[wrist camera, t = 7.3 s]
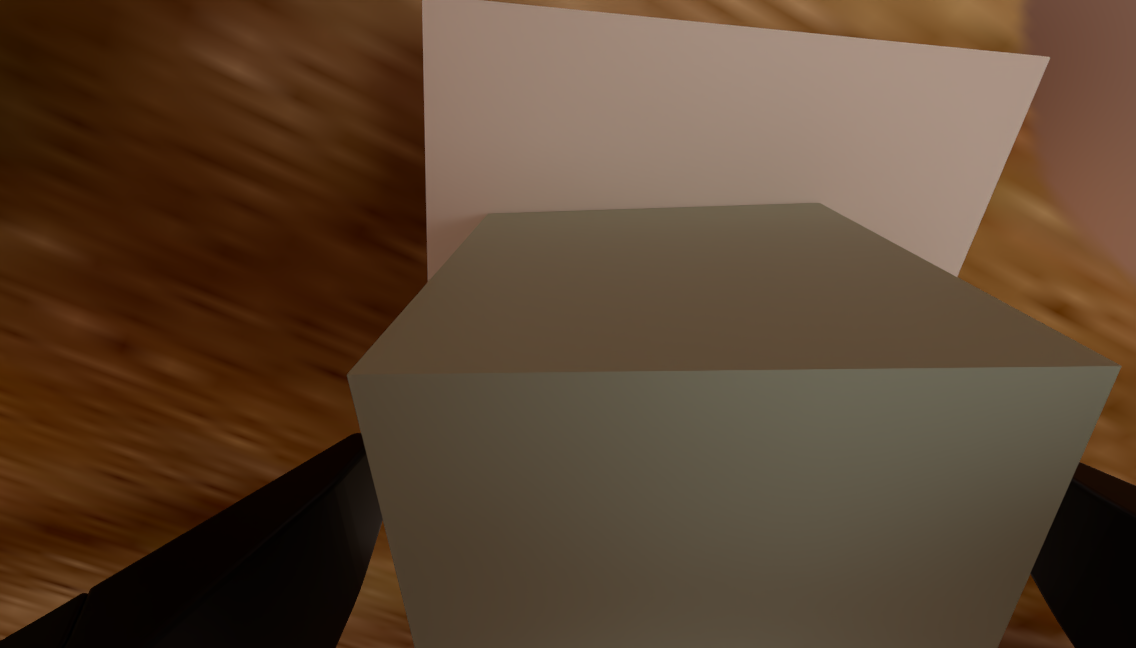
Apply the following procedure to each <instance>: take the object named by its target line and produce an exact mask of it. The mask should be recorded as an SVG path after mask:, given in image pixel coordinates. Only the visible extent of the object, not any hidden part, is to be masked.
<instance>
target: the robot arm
mask: <svg viewBox="0 0 1136 648" xmlns="http://www.w3.org/2000/svg"><path fill="white" fill-rule="evenodd" d="M382 520H383V518H382V514H381V510H380V506H379V502H378V498H377V494H376V490H375V486H374V482H373V478H372V474H371V470H370V466H369V462H368V458H367V454H366V450H365V446H364V442H363V438H362V434H361V433H355V434H352V435H350V436H348V437H347V438H345V439H343V440H342V441H340V442H338V443H337V444H335V445H333V446H332V447H330V448H328V449H326V450H325V451H323V452H321V453H320V454H318V455H316V456H315V457H313V458H311V459H309V460H308V461H306V462H304V463H303V464H301V465H299V466H298V467H296V468H294V469H292V470H291V471H289V472H287V473H286V474H284V475H282V476H281V477H279V478H277V479H276V480H274V481H272V482H270V483H269V484H267V485H265V486H264V487H262V488H260V489H259V490H257V491H255V492H253V493H252V494H250V495H248V496H247V497H245V498H243V499H242V500H240V501H238V502H236V503H235V504H233V505H231V506H230V507H228V508H226V509H225V510H223V511H221V512H219V513H218V514H216V515H214V516H213V517H211V518H209V519H208V520H206V521H204V522H203V523H201V524H199V525H197V526H196V527H194V528H192V529H191V530H189V531H187V532H186V533H184V534H182V535H180V536H179V537H177V538H175V539H174V540H172V541H170V542H169V543H167V544H165V545H163V546H162V547H160V548H158V549H157V550H155V551H153V552H152V553H150V554H148V555H146V556H145V557H143V558H141V559H140V560H138V561H136V562H135V563H133V564H131V565H129V566H128V567H126V568H124V569H123V570H121V571H119V572H118V573H116V574H114V575H113V576H111V577H109V578H107V579H106V580H104V581H102V582H101V583H99V584H97V585H96V586H94V587H92V588H91V589H90V591H89V593H88V594H87V593H82V594H80V595H78V596H77V597H75V598H73V599H72V600H70V601H68V602H66V603H65V604H63V605H61V606H60V607H58V608H56V609H55V610H53V611H51V612H50V613H48V614H46V615H45V616H43V617H41V618H39V619H38V620H36V621H34V622H32V623H31V624H29V625H27V626H25V627H24V628H22V629H20V630H18V631H17V632H15V633H13V634H11V635H10V636H8V637H6V638H5V639H3V640H1V641H0V648H336V646H337V644H338V641H339V639H340V637H341V634H342V632H343V630H344V627H345V625H346V623H347V621H348V618H349V616H350V614H351V611H352V609H353V607H354V604H355V602H356V599H357V597H358V594H359V592H360V589H361V586H362V583H363V580H364V578H365V575H366V571H367V568H368V565H369V562H370V559H371V556H372V552H373V549H374V546H375V543H376V540H377V536H378V533H379V530H380V527H381V524H382ZM1030 574H1031V576H1032V577H1033V579H1034V581H1035V583H1036V585H1037V586H1038V588H1039V590H1040V592H1041V594H1042V595H1043V597H1044V599H1045V601H1046V603H1047V604H1048V606H1049V608H1050V609H1051V611H1052V613H1053V614H1054V616H1055V618H1056V620H1057V621H1058V623H1059V624H1060V626H1061V627H1062V629H1063V631H1064V632H1065V634H1066V635H1067V637H1068V638H1069V640H1070V641H1071V643H1072V644H1073V646H1074V647H1075V648H1136V486H1135V485H1132V484H1130V483H1128V482H1125V481H1123V480H1121V479H1118V478H1116V477H1114V476H1111V475H1109V474H1106V473H1104V472H1102V471H1099V470H1097V469H1095V468H1092V467H1090V466H1088V465H1085V464H1083V463H1080V462H1079V464H1078V466H1077V468H1076V470H1075V473H1074V475H1073V477H1072V480H1071V482H1070V484H1069V486H1068V489H1067V491H1066V493H1065V495H1064V498H1063V500H1062V502H1061V504H1060V507H1059V509H1058V511H1057V514H1056V516H1055V518H1054V520H1053V523H1052V525H1051V527H1050V529H1049V532H1048V534H1047V536H1046V539H1045V541H1044V543H1043V545H1042V548H1041V550H1040V552H1039V554H1038V557H1037V559H1036V561H1035V564H1034V566H1033V568H1032V570H1031V573H1030Z"/></svg>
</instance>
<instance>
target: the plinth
mask: <svg viewBox="0 0 1136 648" xmlns="http://www.w3.org/2000/svg"><path fill="white" fill-rule="evenodd" d="M422 23H423V73H424V122H425V172H426V222H427V271H428V281H429V280H430V279H431V278H432V277H433V276H434V275H435V273H436V272H437V271H438V270H439V269H440V268H441V267H442V265H443V264H444V263H445V262H446V261H447V260H448V259H449V257H450V256H451V255H452V254H453V253H454V252H455V251H456V249H457V248H458V247H459V246H460V245H461V244H462V243H463V242H464V240H465V239H466V238H467V237H468V236H469V235H470V234H471V232H472V231H473V230H474V229H475V228H476V227H477V226H478V224H479V223H480V222H481V221H482V220H483V219H484V218H485V216H486V215H487V214H494V213H525V212H555V211H586V210H616V209H647V208H678V207H708V206H739V205H769V204H800V203H821V204H823V205H825V206H826V207H828V208H830V209H832V210H834V211H836V212H837V213H839V214H841V215H843V216H845V217H847V218H849V219H850V220H852V221H854V222H856V223H858V224H860V225H862V226H863V227H865V228H867V229H869V230H871V231H873V232H874V233H876V234H878V235H880V236H882V237H884V238H886V239H887V240H889V241H891V242H893V243H895V244H897V245H899V246H900V247H902V248H904V249H906V250H908V251H910V252H911V253H913V254H915V255H917V256H919V257H921V258H923V259H924V260H926V261H928V262H930V263H932V264H934V265H935V266H937V267H939V268H941V269H943V270H945V271H947V272H948V273H950V274H952V275H954V276H956V277H957V276H958V273H959V271H960V269H961V266H962V264H963V262H964V259H965V257H966V255H967V252H968V250H969V248H970V245H971V243H972V240H973V238H974V236H975V233H976V231H977V229H978V226H979V224H980V222H981V219H982V217H983V215H984V212H985V210H986V208H987V205H988V203H989V200H990V198H991V196H992V193H993V191H994V189H995V186H996V184H997V182H998V179H999V177H1000V175H1001V172H1002V170H1003V168H1004V165H1005V163H1006V160H1007V158H1008V156H1009V153H1010V151H1011V149H1012V146H1013V144H1014V142H1015V139H1016V137H1017V135H1018V132H1019V130H1020V127H1021V125H1022V123H1023V120H1024V118H1025V116H1026V113H1027V111H1028V109H1029V106H1030V104H1031V102H1032V99H1033V97H1034V95H1035V92H1036V90H1037V87H1038V85H1039V83H1040V80H1041V78H1042V76H1043V73H1044V71H1045V69H1046V66H1047V64H1048V62H1049V59H1050V57H1043V56H1034V55H1024V54H1014V53H1004V52H994V51H984V50H974V49H964V48H954V47H944V46H934V45H924V44H914V43H904V42H894V41H884V40H874V39H864V38H854V37H844V36H834V35H824V34H814V33H804V32H794V31H784V30H774V29H764V28H754V27H744V26H734V25H724V24H713V23H703V22H693V21H683V20H673V19H663V18H653V17H643V16H633V15H623V14H613V13H603V12H593V11H583V10H573V9H563V8H553V7H543V6H533V5H523V4H513V3H503V2H493V1H483V0H422Z"/></svg>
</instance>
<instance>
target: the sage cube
mask: <svg viewBox="0 0 1136 648" xmlns="http://www.w3.org/2000/svg"><path fill="white" fill-rule="evenodd" d="M1120 368H1121V366H1120V365H1119V364H1117V363H1115V362H1113V361H1111V360H1109V359H1108V358H1106V357H1104V356H1102V355H1100V354H1098V353H1096V352H1095V351H1093V350H1091V349H1089V348H1087V347H1085V346H1083V345H1082V344H1080V343H1078V342H1076V341H1074V340H1072V339H1071V338H1069V337H1067V336H1065V335H1063V334H1061V333H1059V332H1058V331H1056V330H1054V329H1052V328H1050V327H1048V326H1046V325H1045V324H1043V323H1041V322H1039V321H1037V320H1035V319H1034V318H1032V317H1030V316H1028V315H1026V314H1024V313H1022V312H1021V311H1019V310H1017V309H1015V308H1013V307H1011V306H1009V305H1008V304H1006V303H1004V302H1002V301H1000V300H998V299H997V298H995V297H993V296H991V295H989V294H987V293H985V292H984V291H982V290H980V289H978V288H976V287H974V286H972V285H971V284H969V283H967V282H965V281H963V280H961V279H960V278H958V277H956V276H954V275H952V274H950V273H948V272H947V271H945V270H943V269H941V268H939V267H937V266H935V265H934V264H932V263H930V262H928V261H926V260H924V259H923V258H921V257H919V256H917V255H915V254H913V253H911V252H910V251H908V250H906V249H904V248H902V247H900V246H899V245H897V244H895V243H893V242H891V241H889V240H887V239H886V238H884V237H882V236H880V235H878V234H876V233H874V232H873V231H871V230H869V229H867V228H865V227H863V226H862V225H860V224H858V223H856V222H854V221H852V220H850V219H849V218H847V217H845V216H843V215H841V214H839V213H837V212H836V211H834V210H832V209H830V208H828V207H826V206H825V205H823V204H821V203H800V204H769V205H739V206H708V207H678V208H647V209H616V210H586V211H555V212H525V213H494V214H487V215H486V216H485V218H484V219H483V220H482V221H481V222H480V223H479V224H478V226H477V227H476V228H475V229H474V230H473V231H472V232H471V234H470V235H469V236H468V237H467V238H466V239H465V240H464V242H463V243H462V244H461V245H460V246H459V247H458V248H457V249H456V251H455V252H454V253H453V254H452V255H451V256H450V257H449V259H448V260H447V261H446V262H445V263H444V264H443V265H442V267H441V268H440V269H439V270H438V271H437V272H436V273H435V275H434V276H433V277H432V278H431V279H430V280H429V281H428V283H427V284H426V285H425V286H424V287H423V288H422V289H421V291H420V292H419V293H418V294H417V295H416V296H415V297H414V298H413V300H412V301H411V302H410V303H409V304H408V305H407V306H406V308H405V309H404V310H403V311H402V312H401V313H400V314H399V316H398V317H397V318H396V319H395V320H394V321H393V322H392V324H391V325H390V326H389V327H388V328H387V329H386V330H385V332H384V333H383V334H382V335H381V336H380V337H379V338H378V340H377V341H376V342H375V343H374V344H373V345H372V346H371V347H370V349H369V350H368V351H367V352H366V353H365V354H364V355H363V357H362V358H361V359H360V360H359V361H358V362H357V363H356V365H355V366H354V367H353V368H352V369H351V370H350V371H349V373H348V374H347V378H348V382H349V386H350V390H351V394H352V398H353V402H354V406H355V410H356V414H357V418H358V422H359V426H360V430H361V434H362V438H363V442H364V446H365V450H366V454H367V458H368V462H369V466H370V470H371V474H372V478H373V482H374V486H375V490H376V494H377V498H378V502H379V506H380V510H381V514H382V518H383V522H384V526H385V530H386V534H387V538H388V542H389V546H390V550H391V554H392V558H393V562H394V566H395V570H396V574H397V578H398V582H399V586H400V590H401V594H402V598H403V602H404V606H405V610H406V614H407V618H408V622H409V626H410V630H411V634H412V638H413V642H414V646H415V648H998V645H999V643H1000V641H1001V639H1002V636H1003V634H1004V632H1005V629H1006V627H1007V625H1008V623H1009V620H1010V618H1011V616H1012V614H1013V611H1014V609H1015V607H1016V604H1017V602H1018V600H1019V598H1020V595H1021V593H1022V591H1023V589H1024V586H1025V584H1026V582H1027V579H1028V577H1029V575H1030V573H1031V570H1032V568H1033V566H1034V564H1035V561H1036V559H1037V557H1038V554H1039V552H1040V550H1041V548H1042V545H1043V543H1044V541H1045V539H1046V536H1047V534H1048V532H1049V529H1050V527H1051V525H1052V523H1053V520H1054V518H1055V516H1056V514H1057V511H1058V509H1059V507H1060V504H1061V502H1062V500H1063V498H1064V495H1065V493H1066V491H1067V489H1068V486H1069V484H1070V482H1071V480H1072V477H1073V475H1074V473H1075V470H1076V468H1077V466H1078V464H1079V461H1080V459H1081V457H1082V455H1083V452H1084V450H1085V448H1086V445H1087V443H1088V441H1089V439H1090V436H1091V434H1092V432H1093V430H1094V427H1095V425H1096V423H1097V420H1098V418H1099V416H1100V414H1101V411H1102V409H1103V407H1104V405H1105V402H1106V400H1107V398H1108V395H1109V393H1110V391H1111V389H1112V386H1113V384H1114V382H1115V380H1116V377H1117V375H1118V373H1119V370H1120Z"/></svg>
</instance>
